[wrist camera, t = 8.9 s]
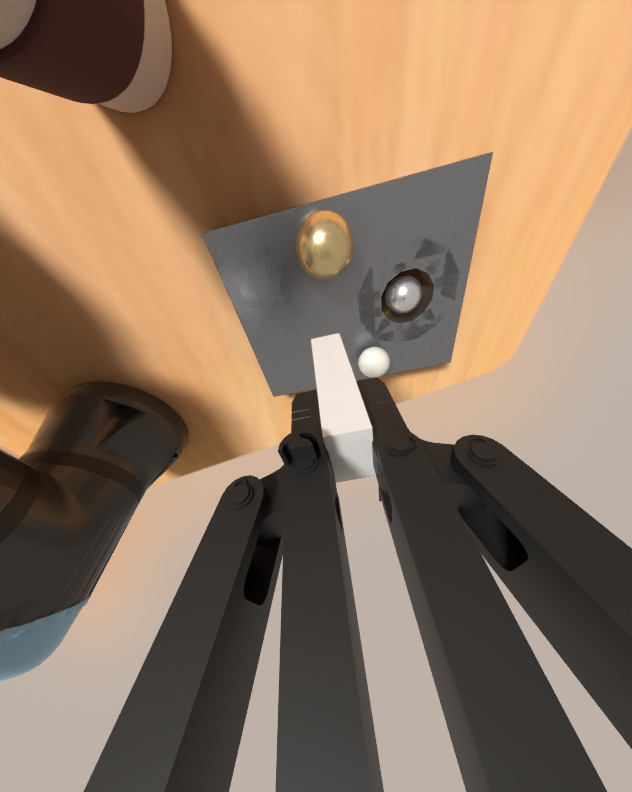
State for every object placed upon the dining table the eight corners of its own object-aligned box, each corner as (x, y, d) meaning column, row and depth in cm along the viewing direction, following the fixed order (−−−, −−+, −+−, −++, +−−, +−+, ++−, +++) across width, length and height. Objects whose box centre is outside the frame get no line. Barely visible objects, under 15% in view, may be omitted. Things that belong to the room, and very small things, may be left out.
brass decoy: (303, 278, 19) (303, 292, 16) (290, 218, 16) (287, 221, 13) (352, 266, 18) (361, 279, 15) (345, 202, 16) (356, 202, 13)
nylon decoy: (357, 369, 25) (362, 386, 22) (354, 344, 23) (360, 360, 21) (385, 363, 24) (393, 380, 22) (384, 338, 23) (393, 353, 20)
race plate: (275, 383, 29) (273, 396, 27) (212, 230, 18) (201, 233, 17) (439, 350, 27) (450, 362, 25) (470, 157, 16) (492, 152, 14)
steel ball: (379, 312, 23) (396, 323, 20) (377, 278, 21) (397, 285, 18) (407, 302, 23) (428, 312, 21) (409, 268, 21) (432, 273, 19)
